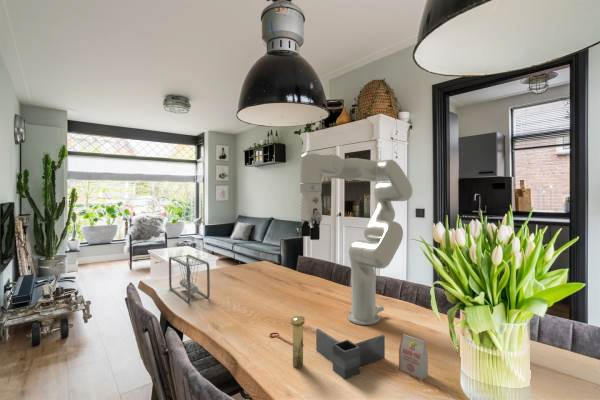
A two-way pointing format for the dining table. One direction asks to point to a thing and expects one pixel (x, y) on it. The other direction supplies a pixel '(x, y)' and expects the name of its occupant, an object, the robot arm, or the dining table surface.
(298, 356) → the hinge pin
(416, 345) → the tea bag
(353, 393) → the dining table surface
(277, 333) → the key
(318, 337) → the bracket
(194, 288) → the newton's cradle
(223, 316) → the dining table surface
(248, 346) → the dining table surface
